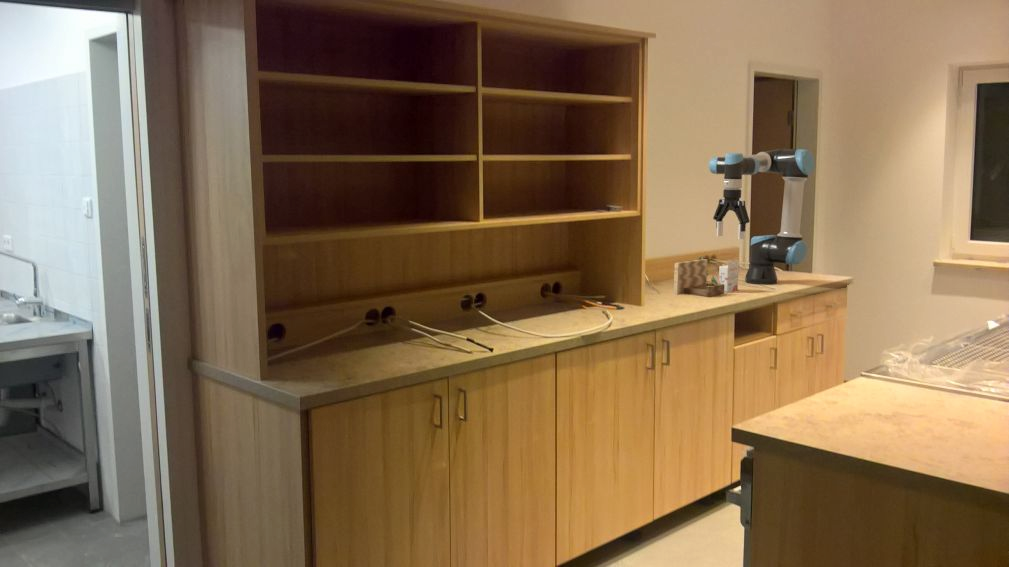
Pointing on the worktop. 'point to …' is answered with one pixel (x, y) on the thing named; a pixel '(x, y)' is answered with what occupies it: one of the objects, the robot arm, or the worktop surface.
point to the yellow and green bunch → (711, 279)
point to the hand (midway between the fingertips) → (730, 237)
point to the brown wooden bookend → (694, 279)
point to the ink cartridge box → (729, 276)
